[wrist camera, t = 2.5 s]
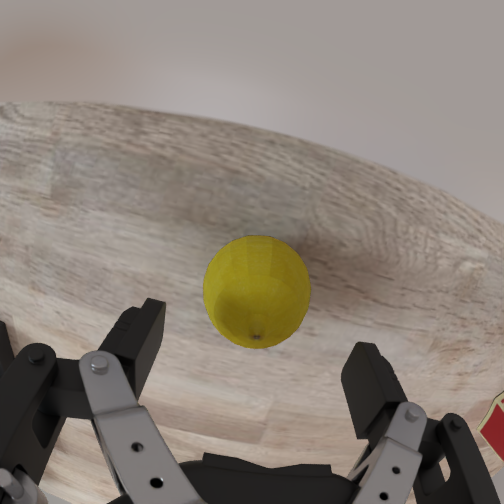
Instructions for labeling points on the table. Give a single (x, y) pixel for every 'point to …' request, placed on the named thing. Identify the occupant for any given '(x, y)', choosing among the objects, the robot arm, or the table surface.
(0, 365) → the scale
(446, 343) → the table surface
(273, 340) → the fruit
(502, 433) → the milk carton
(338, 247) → the table surface
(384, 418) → the robot arm
